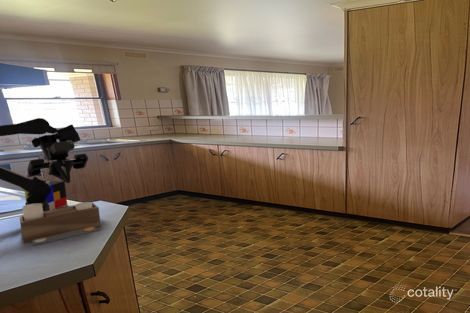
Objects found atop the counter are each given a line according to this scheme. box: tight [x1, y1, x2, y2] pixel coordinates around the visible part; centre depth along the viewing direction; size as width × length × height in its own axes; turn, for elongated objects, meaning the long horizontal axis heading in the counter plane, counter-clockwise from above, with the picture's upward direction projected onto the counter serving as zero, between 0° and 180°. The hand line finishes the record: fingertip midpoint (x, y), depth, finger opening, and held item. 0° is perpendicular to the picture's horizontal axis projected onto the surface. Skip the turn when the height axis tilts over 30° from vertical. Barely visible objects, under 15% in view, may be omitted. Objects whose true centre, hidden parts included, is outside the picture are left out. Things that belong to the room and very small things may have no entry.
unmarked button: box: [22, 203, 44, 221], centre depth 95 cm, size 5×5×6 cm
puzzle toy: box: [24, 180, 68, 210], centre depth 128 cm, size 10×10×10 cm
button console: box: [18, 202, 101, 244], centre depth 99 cm, size 9×21×6 cm, turn 127°
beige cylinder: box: [74, 201, 93, 211], centre depth 103 cm, size 5×5×6 cm
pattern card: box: [31, 226, 98, 247], centre depth 94 cm, size 4×17×1 cm, turn 127°
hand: (68, 182), depth 108 cm, fingers closed
